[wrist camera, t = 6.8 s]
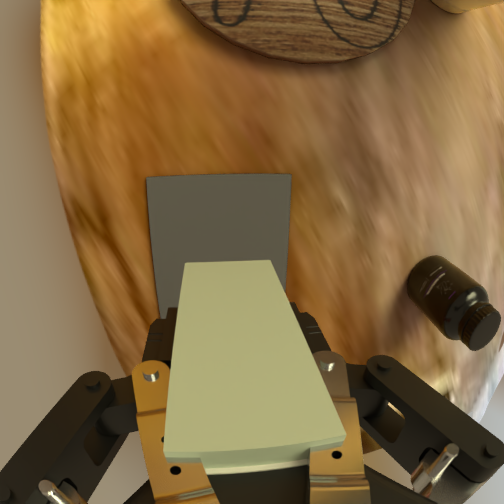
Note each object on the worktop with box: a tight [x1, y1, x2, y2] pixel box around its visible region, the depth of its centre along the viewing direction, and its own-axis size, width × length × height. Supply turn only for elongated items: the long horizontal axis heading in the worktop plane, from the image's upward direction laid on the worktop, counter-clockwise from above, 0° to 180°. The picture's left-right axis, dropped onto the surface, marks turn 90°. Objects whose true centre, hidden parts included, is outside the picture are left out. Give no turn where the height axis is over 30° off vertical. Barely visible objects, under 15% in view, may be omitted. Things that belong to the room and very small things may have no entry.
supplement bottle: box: [407, 255, 501, 351], centre depth 30 cm, size 7×7×12 cm
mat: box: [146, 174, 292, 319], centre depth 31 cm, size 16×13×1 cm
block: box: [163, 260, 346, 475], centre depth 11 cm, size 4×4×10 cm
